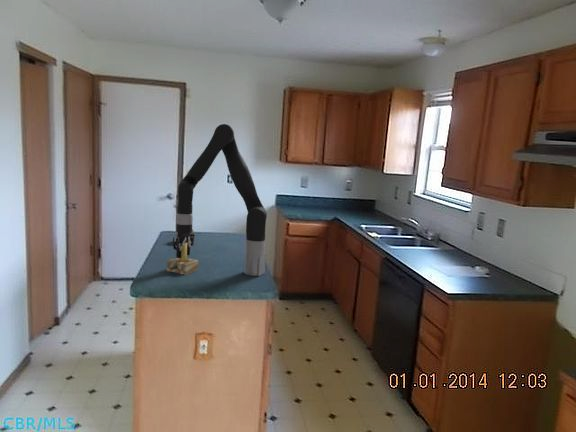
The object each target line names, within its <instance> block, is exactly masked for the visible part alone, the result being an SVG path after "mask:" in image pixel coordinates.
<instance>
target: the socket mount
mask: <svg viewBox="0 0 576 432" xmlns="http://www.w3.org/2000/svg"><path fill="white" fill-rule="evenodd" d="M166 262H167V265H166V270H167V271H166V272H171V273H174V272H175V273H174V274H180V275H183V274H184V275H183V276H188V275H190V274H193V273H195V272H197V271H199V260H198V259H193V258H190V257H187V262H185V263H184V262H179V258H177V257H175V258H172V259H169V260H167V261H166ZM189 273H190V274H189Z"/></svg>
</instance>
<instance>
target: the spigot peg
mask: <svg viewBox="0 0 576 432" xmlns="http://www.w3.org/2000/svg"><path fill="white" fill-rule="evenodd" d="M179 244H181V243H179ZM179 248H180V246H179ZM187 258H188V255H187V243H184V246H183V247H182V249H181V258H179V262H184V263H185V262H187Z"/></svg>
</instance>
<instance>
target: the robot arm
mask: <svg viewBox="0 0 576 432" xmlns="http://www.w3.org/2000/svg"><path fill="white" fill-rule="evenodd" d="M221 151H222V154H223V155H224V159H225V162H226V165H227V168H228V171H229V172H228V173H229V175H230V177H231V179H232V180H231V181H232V182H233V185H234V186H235V189H236V190H237V191H238V194H239V195H240V196H241V198H242V200H243V202H244V204H245V207H246V211H247V215H246V226H245V227H246V228H245V229H246V230H245V235H246V236H245V253H244V254H245V255H244V268H243V269H244V271H243V272H244V274H245V275H247V276H251V277H252V276H253V277H261V276H262V275H265V269H266V268H265V267H266V256H267V255H266V254H265V244H266V225H267V224H266V223H267V218H268V214H267V210H266V209H265V207H264V205H263V203H262V202H261V200H260V198H259V195H258V192H257V189H256V185H255V183H254V180H253V177H252V175H251V172H250V170H249V167H248V165H247V162H246V160H245V159H244V157H243V156H242V154H241V153H240V151H239V147H238V144H237V141H236V139H235V132H234V129H233V128H232V127H231V125H229V124H226V123H223V124H222V123H221V124H219V125H218V126H216V128H215V130H214V133H213V135H212V137H211V138H210V140H209V143H208V144H207V145H206V147H205V148H204V150H203V151H202V152H201V154H200V155H199V156H198V158H197V159H196V160H195V162H194V163H193V164H192V166H191V167H190V168H189V170H188V172H187V173H186V175H185V176H184V177H183V178H182V179H181V181H180V182H179V184H178V185H177V207H176V208H177V209H176V211H177V212H176V213H177V214H176V219H175V222H176V225H175V226H176V227H175V232H176V234H177V233H178V236H177V235H176V236H177V237H173V238H172V245H173V246H172V248H173V250H175V251H176V253H175V254H176V255H175V256H176V258H181V249H182V247H183V246H184V243H187V256H190V255H191V247H194V242H195V237H194V234H195V233H194V234H192V233H191V232H192V229H193V219H194V218H193V199H194V198H193V197H194V189H195V188H196V186H197V184H198V183H199V182H200V181H201V180H202V179H203V178H204V177H205V175H206V174H207V172H208V171H209V170H210V168H211V166H212V165H213V163H214V162H215V159H216V158H217V157H218V155H219V154H220V152H221ZM191 241H192V242H191ZM179 243H181V244H179ZM179 246H180V248H179Z"/></svg>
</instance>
